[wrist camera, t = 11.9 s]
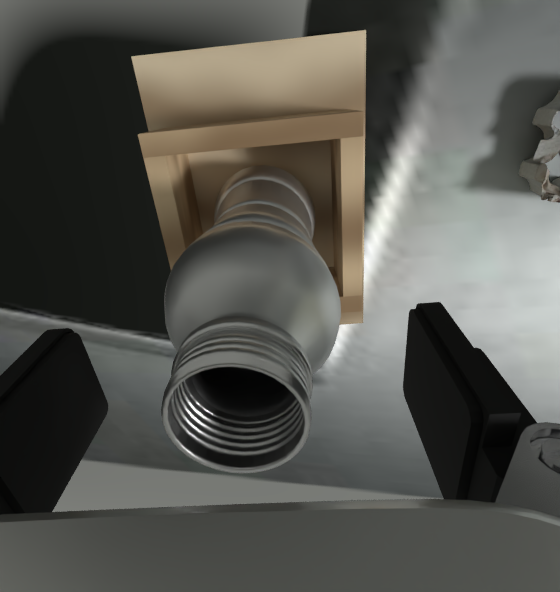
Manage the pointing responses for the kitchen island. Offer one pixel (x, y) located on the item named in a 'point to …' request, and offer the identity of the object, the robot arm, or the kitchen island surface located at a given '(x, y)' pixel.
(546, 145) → the grey rocky tray
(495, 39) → the kitchen island surface
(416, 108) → the kitchen island surface
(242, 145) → the tan wooden box
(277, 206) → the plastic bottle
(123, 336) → the kitchen island surface
